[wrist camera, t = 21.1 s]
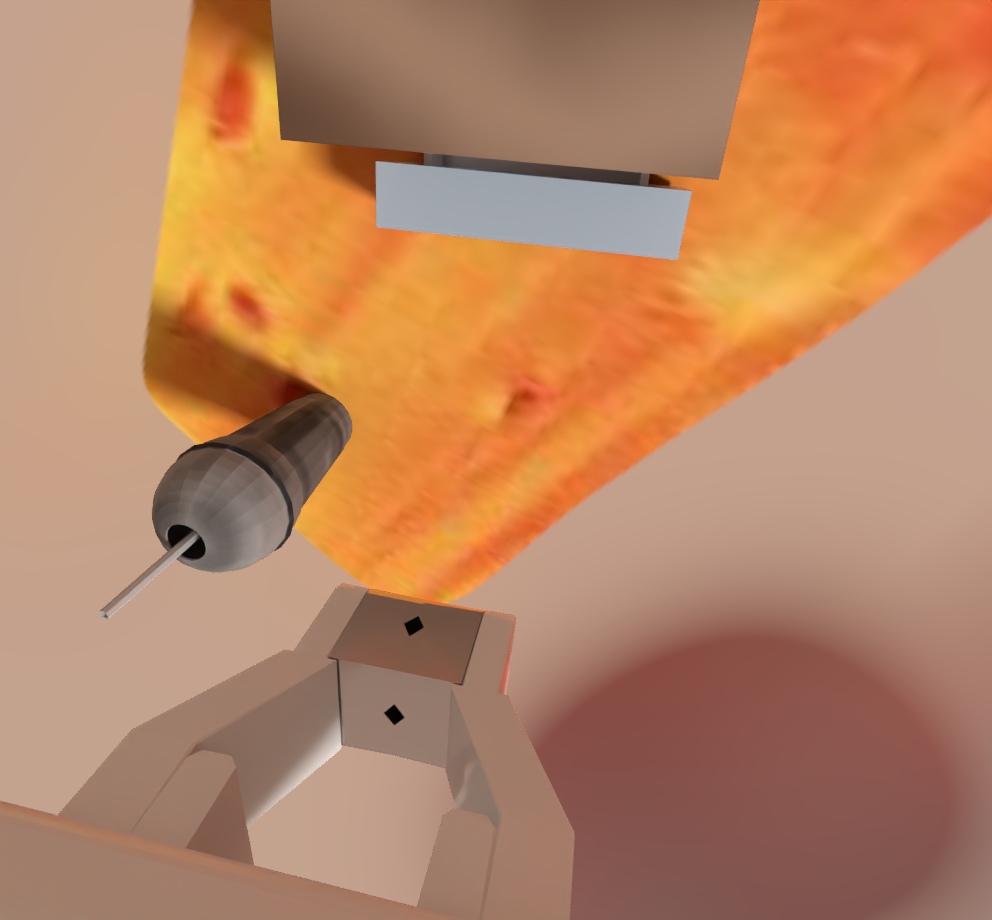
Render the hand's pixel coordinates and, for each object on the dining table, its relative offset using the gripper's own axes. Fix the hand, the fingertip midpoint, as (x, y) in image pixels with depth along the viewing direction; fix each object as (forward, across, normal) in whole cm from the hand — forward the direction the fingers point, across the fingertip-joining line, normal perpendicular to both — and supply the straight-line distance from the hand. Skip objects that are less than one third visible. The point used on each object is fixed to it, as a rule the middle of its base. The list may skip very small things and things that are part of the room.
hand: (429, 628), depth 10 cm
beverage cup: (+29, +16, +11) cm, 35 cm away
